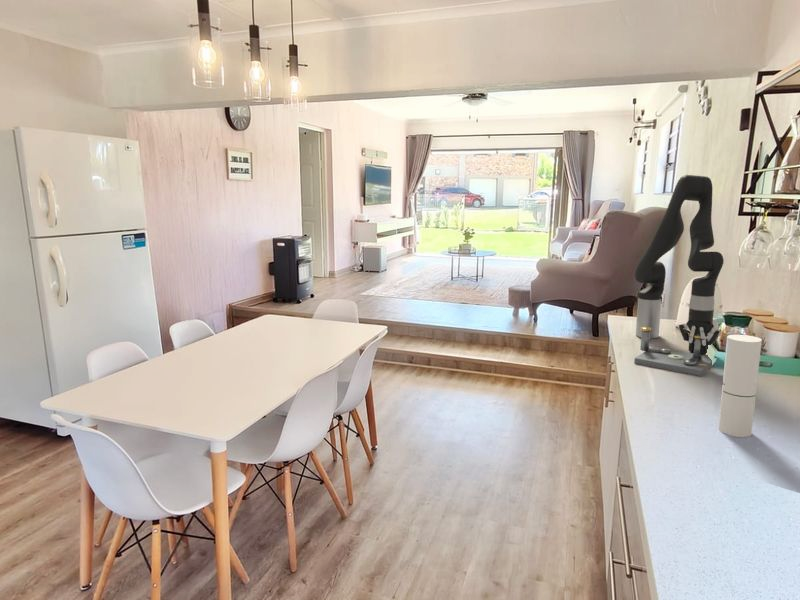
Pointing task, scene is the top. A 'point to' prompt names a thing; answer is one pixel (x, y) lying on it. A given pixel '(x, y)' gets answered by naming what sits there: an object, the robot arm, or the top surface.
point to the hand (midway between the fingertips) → (697, 353)
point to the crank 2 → (695, 352)
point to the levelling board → (674, 361)
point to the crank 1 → (645, 342)
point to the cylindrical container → (739, 385)
